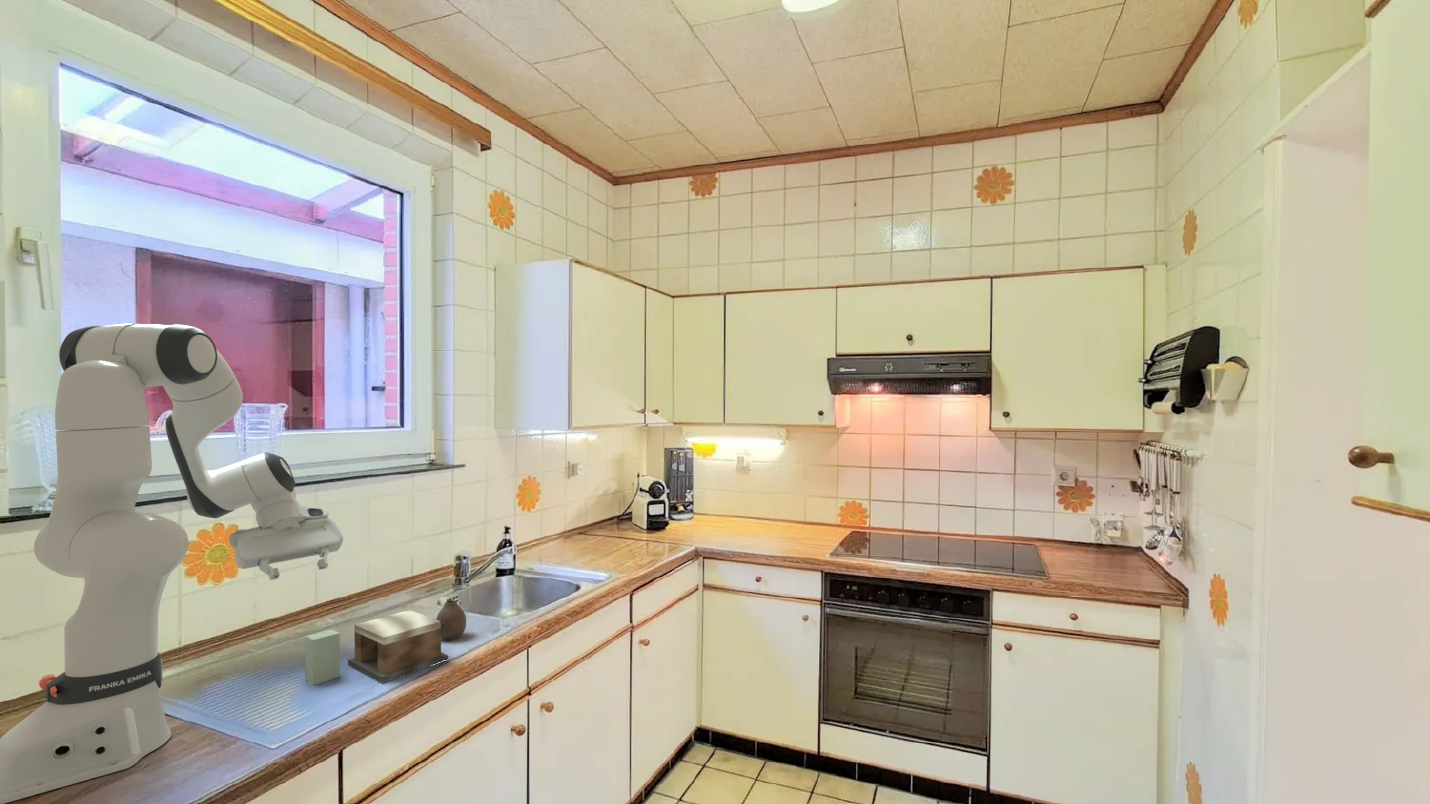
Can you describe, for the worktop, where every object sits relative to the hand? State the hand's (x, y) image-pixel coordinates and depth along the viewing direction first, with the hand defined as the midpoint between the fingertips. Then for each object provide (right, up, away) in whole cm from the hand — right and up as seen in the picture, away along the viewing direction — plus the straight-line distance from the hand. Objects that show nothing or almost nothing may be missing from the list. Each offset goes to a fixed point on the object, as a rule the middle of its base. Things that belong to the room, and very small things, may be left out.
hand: (300, 572), depth 138 cm
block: (+10, -20, -8) cm, 24 cm away
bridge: (+22, -19, -1) cm, 29 cm away
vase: (+27, -20, +14) cm, 37 cm away
